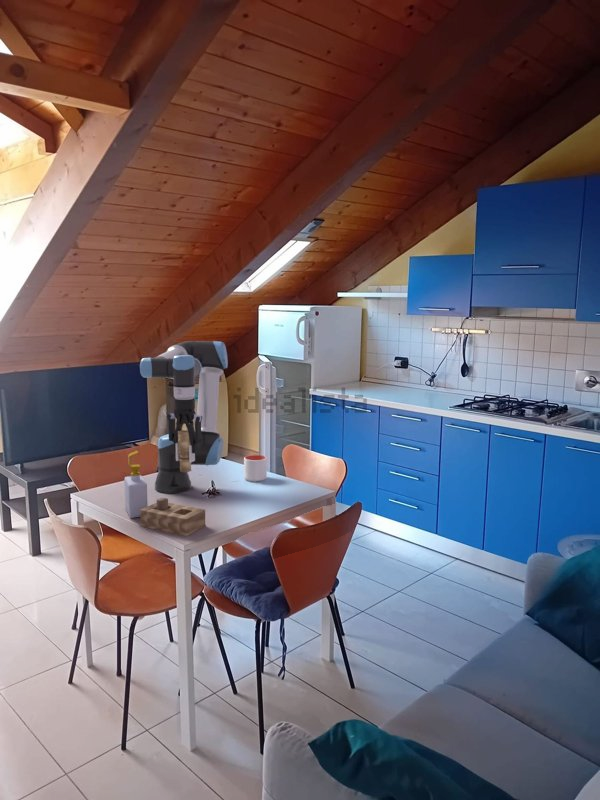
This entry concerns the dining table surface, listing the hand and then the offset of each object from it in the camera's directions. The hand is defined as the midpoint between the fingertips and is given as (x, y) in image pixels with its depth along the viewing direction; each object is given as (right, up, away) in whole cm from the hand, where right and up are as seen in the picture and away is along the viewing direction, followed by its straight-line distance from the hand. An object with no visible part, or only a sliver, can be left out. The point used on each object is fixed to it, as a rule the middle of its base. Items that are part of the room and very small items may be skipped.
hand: (185, 460), depth 227 cm
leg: (0, -4, +1) cm, 4 cm away
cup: (+22, -14, +51) cm, 57 cm away
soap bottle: (-20, -20, +6) cm, 29 cm away
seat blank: (-3, -22, -8) cm, 24 cm away
